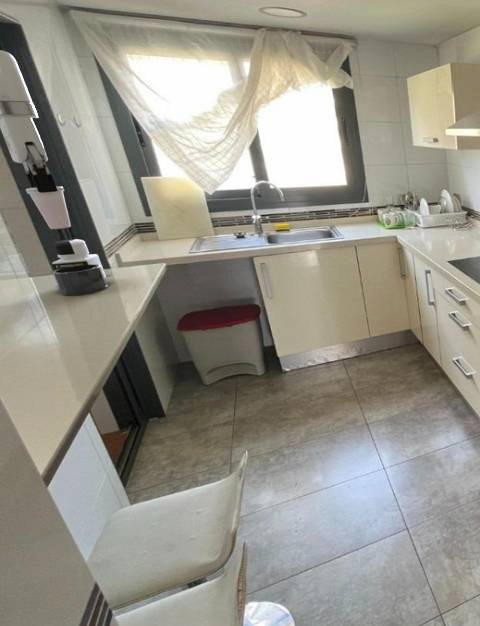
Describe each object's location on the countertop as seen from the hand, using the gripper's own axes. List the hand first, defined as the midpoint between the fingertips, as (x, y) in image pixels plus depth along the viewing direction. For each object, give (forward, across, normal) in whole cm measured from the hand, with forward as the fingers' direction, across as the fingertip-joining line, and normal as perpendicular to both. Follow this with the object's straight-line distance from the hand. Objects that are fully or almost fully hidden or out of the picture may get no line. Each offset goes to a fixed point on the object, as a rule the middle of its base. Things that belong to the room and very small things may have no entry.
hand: (45, 190), depth 111 cm
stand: (+26, 0, 0) cm, 26 cm away
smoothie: (+9, 0, 0) cm, 9 cm away
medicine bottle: (+26, -9, +2) cm, 28 cm away
